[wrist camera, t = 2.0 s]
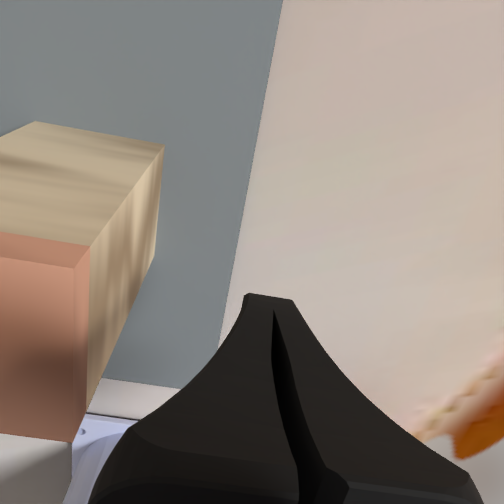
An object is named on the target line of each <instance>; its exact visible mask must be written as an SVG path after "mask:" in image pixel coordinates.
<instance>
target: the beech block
mask: <svg viewBox="0 0 504 504" xmlns="http://www.w3.org/2000/svg"><path fill="white" fill-rule="evenodd" d="M164 148H165V145H164V144H159V143H153V142H148V141H142V140H137V139H131V138H126V137H120V136H115V135H109V134H104V133H98V132H93V131H87V130H82V129H76V128H71V127H65V126H60V125H54V124H49V123H43V122H38V121H34V122H32V123H29V124H27V125H25V126H23V127H21V128H19V129H16V130H14V131H12V132H10V133H8V134H6V135H4V136H1V137H0V433H3V434H10V435H17V436H25V437H32V438H40V439H47V440H55V441H62V442H70V443H73V441H74V439H75V436H76V434H77V432H78V430H79V427H80V425H81V423H82V420H83V418H84V416H85V413H86V411H87V409H88V407H89V404H90V402H91V400H92V397H93V395H94V393H95V391H96V388H97V386H98V384H99V381H100V379H101V377H102V374H103V372H104V370H105V368H106V365H107V363H108V361H109V358H110V356H111V354H112V351H113V349H114V347H115V345H116V342H117V340H118V338H119V335H120V333H121V331H122V329H123V326H124V324H125V322H126V319H127V317H128V315H129V312H130V310H131V308H132V306H133V303H134V301H135V299H136V296H137V294H138V292H139V289H140V287H141V285H142V283H143V280H144V278H145V276H146V273H147V271H148V269H149V267H150V264H151V262H152V260H153V257H154V252H155V241H156V231H157V221H158V210H159V200H160V190H161V179H162V169H163V158H164Z"/></svg>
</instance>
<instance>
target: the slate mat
mask: <svg viewBox="0 0 504 504" xmlns="http://www.w3.org/2000/svg"><path fill="white" fill-rule="evenodd" d="M282 2H283V0H0V137H1V136H4V135H6V134H8V133H10V132H12V131H14V130H16V129H19V128H21V127H23V126H25V125H27V124H29V123H32V122H34V121H38V122H43V123H49V124H54V125H60V126H65V127H71V128H76V129H82V130H87V131H93V132H98V133H104V134H109V135H115V136H120V137H126V138H131V139H137V140H142V141H148V142H153V143H159V144H164V145H165V148H164V158H163V169H162V179H161V190H160V200H159V210H158V221H157V231H156V241H155V252H154V257H153V260H152V262H151V264H150V267H149V269H148V271H147V273H146V276H145V278H144V280H143V283H142V285H141V287H140V289H139V292H138V294H137V296H136V299H135V301H134V303H133V306H132V308H131V310H130V312H129V315H128V317H127V319H126V322H125V324H124V326H123V329H122V331H121V333H120V335H119V338H118V340H117V342H116V345H115V347H114V349H113V351H112V354H111V356H110V358H109V361H108V363H107V365H106V368H105V370H104V372H103V374H102V377H101V378H108V379H115V380H122V381H128V382H135V383H142V384H149V385H156V386H163V387H170V388H177V389H182V388H184V387H185V386H186V385H187V384H188V383H189V382H190V381H191V380H192V379H193V378H194V377H195V376H196V375H197V374H198V373H199V372H200V371H201V370H202V369H203V367H204V366H205V365H206V364H207V363H208V362H209V361H210V359H211V358H212V357H213V356H214V354H215V353H216V352H217V349H218V344H219V339H220V333H221V328H222V323H223V317H224V312H225V307H226V301H227V296H228V291H229V285H230V280H231V275H232V269H233V264H234V259H235V253H236V248H237V242H238V237H239V232H240V226H241V221H242V216H243V210H244V205H245V200H246V194H247V189H248V184H249V178H250V173H251V168H252V162H253V157H254V152H255V146H256V141H257V136H258V130H259V125H260V120H261V114H262V109H263V104H264V98H265V93H266V88H267V82H268V77H269V72H270V66H271V61H272V56H273V50H274V45H275V40H276V34H277V29H278V24H279V18H280V13H281V8H282Z"/></svg>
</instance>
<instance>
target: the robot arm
mask: <svg viewBox="0 0 504 504" xmlns="http://www.w3.org/2000/svg"><path fill="white" fill-rule="evenodd" d="M81 428H82V429H81ZM62 504H484V503H483V501H482V499H481V496H480V494H479V492H478V490H477V488H476V486H475V484H474V482H473V480H472V479H471V477H470V475H469V473H468V472H466V471H465V470H463V469H461V468H460V467H458V466H456V465H455V464H454V463H452V462H450V461H449V460H447V459H446V458H444V457H442V456H441V455H439V454H437V453H436V452H435V451H433V450H431V449H430V448H428V447H427V446H426V445H424V444H423V443H421V442H420V441H419V440H417V439H416V438H415V437H413V436H412V435H411V434H409V433H408V432H406V431H405V430H404V429H403V428H401V427H400V426H399V425H398V424H396V423H395V422H394V421H392V420H391V419H390V418H389V417H388V416H387V415H385V414H384V413H383V412H382V411H381V410H380V409H379V408H377V407H376V406H375V405H374V404H373V403H372V402H371V401H370V400H369V399H368V398H367V397H365V396H364V395H363V394H362V393H361V392H360V391H359V389H358V388H357V387H356V386H355V385H354V384H353V383H352V382H351V381H350V380H349V379H348V378H347V377H346V376H345V375H344V374H343V372H342V371H341V370H340V369H339V368H338V366H337V365H336V364H335V363H334V361H333V360H332V359H331V358H330V357H329V355H328V354H327V353H326V351H325V350H324V348H323V347H322V346H321V344H320V343H319V341H318V340H317V338H316V337H315V336H314V334H313V333H312V331H311V329H310V328H309V326H308V325H307V323H306V322H305V320H304V318H303V317H302V315H301V313H300V312H299V310H298V308H297V307H296V305H295V304H294V302H293V301H292V300H290V299H284V298H278V297H271V296H265V295H259V294H253V293H248V294H246V295H244V298H243V303H242V308H241V311H240V314H239V316H238V318H237V320H236V322H235V324H234V326H233V327H232V329H231V331H230V333H229V334H228V336H227V337H226V339H225V340H224V342H223V343H222V345H221V346H220V348H219V349H218V350H217V352H216V353H215V354H214V356H213V357H212V358H211V359H210V361H209V362H208V363H207V364H206V365H205V366H204V367H203V369H202V370H201V371H200V372H199V373H198V374H197V375H196V376H195V377H194V378H193V379H192V380H191V381H190V382H189V383H188V384H187V385H186V386H185V387H184V388H182V389H181V390H180V391H179V392H178V393H177V394H175V395H174V396H173V397H172V398H170V399H169V400H168V401H167V402H165V403H164V404H163V405H162V406H160V407H159V408H158V409H156V410H155V411H153V412H152V413H150V414H149V415H147V416H146V417H144V418H143V419H141V420H139V421H134V420H127V419H120V418H113V417H106V416H98V415H91V414H85V416H84V418H83V420H82V423H81V425H80V427H79V430H78V432H77V434H76V436H75V439H74V441H73V443H72V481H71V483H70V485H69V488H68V490H67V493H66V495H65V498H64V500H63V503H62Z"/></svg>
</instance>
